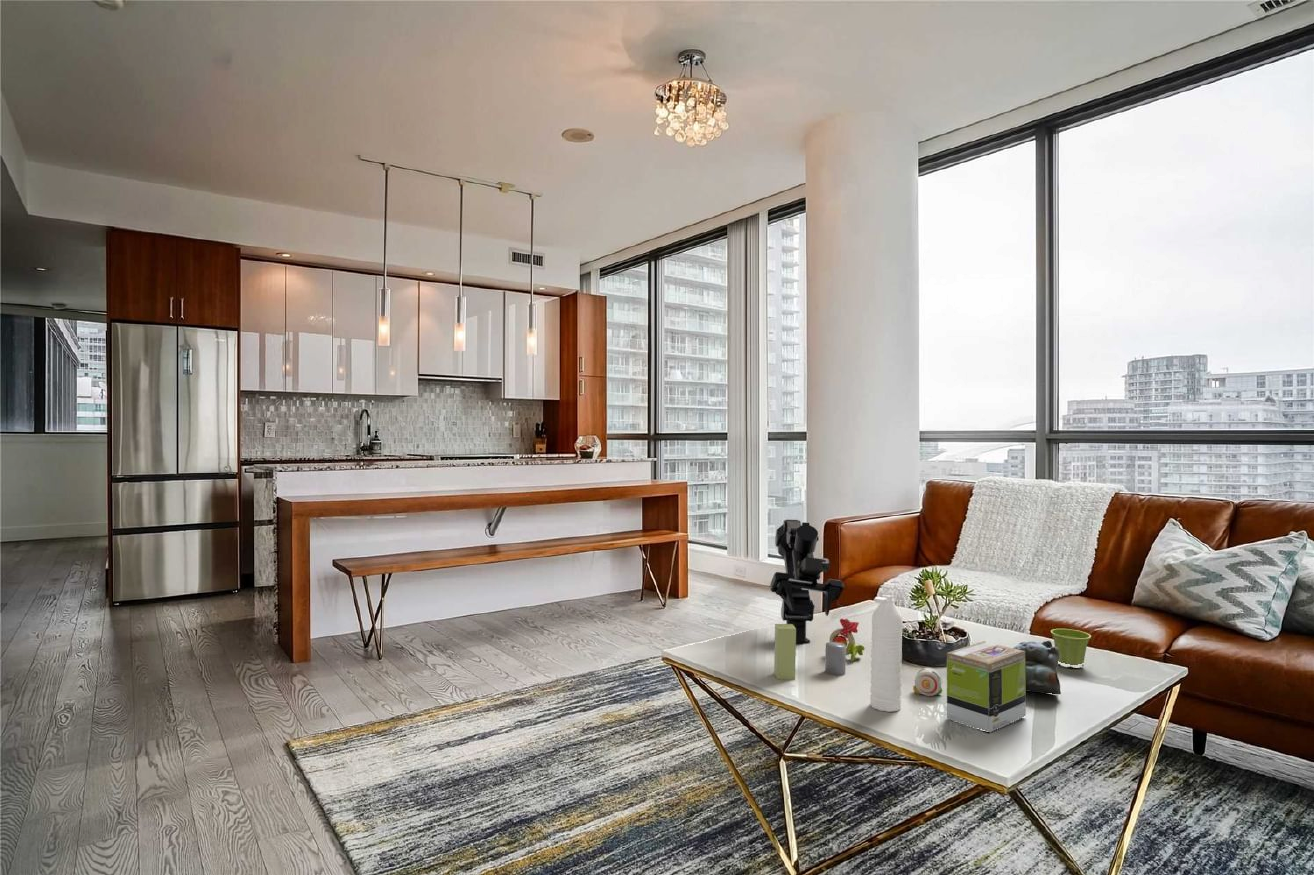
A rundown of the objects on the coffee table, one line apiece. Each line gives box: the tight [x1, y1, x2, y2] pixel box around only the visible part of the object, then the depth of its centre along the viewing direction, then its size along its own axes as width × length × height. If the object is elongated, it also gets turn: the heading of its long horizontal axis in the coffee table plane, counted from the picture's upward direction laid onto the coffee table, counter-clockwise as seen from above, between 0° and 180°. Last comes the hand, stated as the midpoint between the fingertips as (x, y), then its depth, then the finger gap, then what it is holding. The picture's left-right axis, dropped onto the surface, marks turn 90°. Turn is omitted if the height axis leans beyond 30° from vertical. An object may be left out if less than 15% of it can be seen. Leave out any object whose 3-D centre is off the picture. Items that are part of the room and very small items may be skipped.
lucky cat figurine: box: [1013, 640, 1062, 695], centre depth 179 cm, size 15×12×14 cm
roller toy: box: [912, 667, 943, 697], centre depth 176 cm, size 4×6×6 cm
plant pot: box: [1050, 628, 1092, 665], centre depth 199 cm, size 9×9×9 cm
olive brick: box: [773, 623, 797, 680], centre depth 187 cm, size 4×4×12 cm
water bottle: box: [869, 594, 904, 713], centre depth 166 cm, size 9×6×25 cm
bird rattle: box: [828, 618, 865, 662], centre depth 203 cm, size 6×11×9 cm
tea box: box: [946, 641, 1027, 733], centre depth 161 cm, size 15×10×15 cm, turn 127°
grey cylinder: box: [824, 642, 847, 677], centre depth 191 cm, size 5×5×7 cm
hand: (810, 612), depth 195 cm, fingers open, 9 cm apart
